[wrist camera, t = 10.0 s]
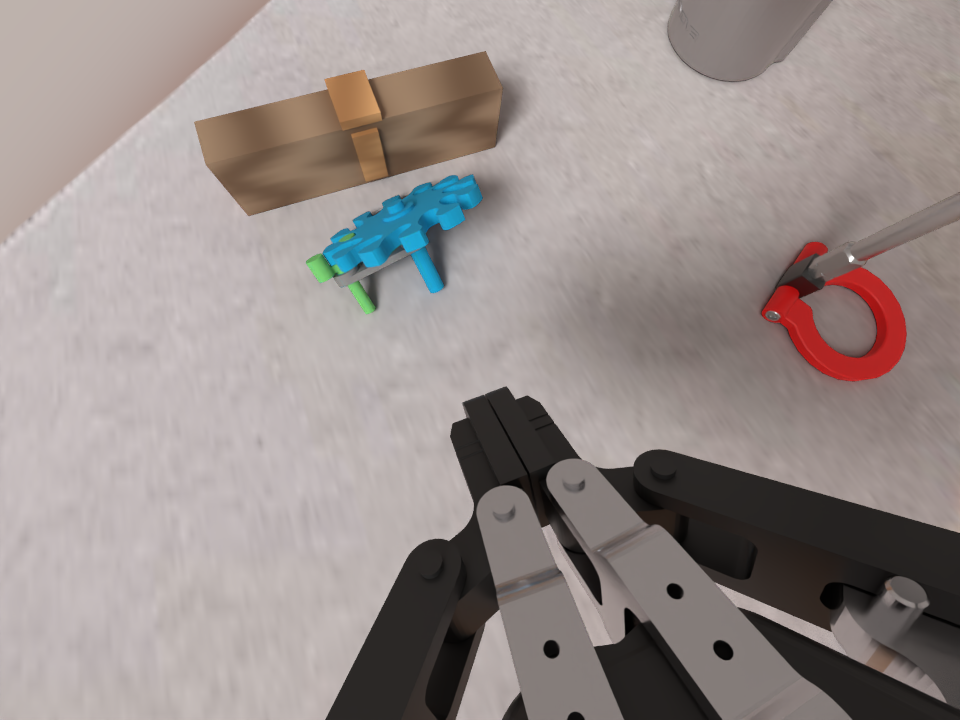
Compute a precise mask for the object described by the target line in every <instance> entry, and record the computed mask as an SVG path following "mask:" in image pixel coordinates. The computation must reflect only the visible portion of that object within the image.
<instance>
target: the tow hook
mask: <svg viewBox="0 0 960 720" xmlns="http://www.w3.org/2000/svg"><path fill="white" fill-rule="evenodd" d="M959 219H960V192H958V193H956V194H954V195H952V196H950V197H948V198H946V199H944V200H942V201H940V202H938V203H936V204H934V205H932V206H930V207H928V208H926V209H924V210H922V211H920V212H917V213H915V214H913V215H911V216H909V217H907V218H905V219H903V220H901V221H899V222H897V223H895V224H893V225H891V226H889V227H887V228H885V229H883V230H881V231H879V232H877V233H875V234H873V235H870V236H868V237H866V238H864V239H862V240H860V241H858V242H853V241H851V242H847V243H845V244H843V245H841V246H839V247H837V248H835V249H833V250H831V251H829V252H827V251H828V248H827V247H826V246H825V245H824V244H822V243H820V242H810V243H808V244H807V245H806V246H805V247H804V249H803V250H802V252H801V253H800V255H799V256H798V258H797V259H796V261H795V262H794V264H793V265H792V266H790V267H789V269H788V270H787V272H786V273H785V275H784V276H783V278H782V279H781V281H780V282H779V284H778V285H777V287H776V291H775V293H774V294H773V296H772V297H771V299H770V300H769V302H768V303H767V305H766V306H765V308H764V309H763V311H762V316H763V317H764V318H765V319H766V320H768V321H770V322H774V323H779V322H780V323H781V324H782V325H784V326H785V327H786V328H787V329H788V332H789V335H790V337H791V339H792V341H793V343H794V344H795V346H796V348H797V350H798V351H799V352H800V353H801V354H802V356H803V357H804V358H805V359H806V360H807V361H808V362H809V363H810V364H811V365H812V366H814V367H815V368H817V369H818V370H819V371H821V372H822V373H824V374H826V375H829V376H831V377H834V378H836V379H839V380H846V381H860V380H866V379H873V378H877V377H879V376H881V375H883V374H885V373H887V372H889V371H890V370H891V369H892V368H893V367H894V366H895V365H896V364H897V363H898V362H899V360H900V358H901V356H902V353H903V351H904V349H905V342H906V336H907V333H906V325H905V318H904V315H903V313H902V310H901V307H900V304H899V303H898V301H897V299H896V298H895V296H894V295H893V293H892V291H891V290H890V289H889V288H888V287H887V286H886V285H885V284H884V283H883V282H882V281H881V280H880V279H879V278H878V277H876V276H875V275H873V274H872V273H871V272H869V271H868V270H866V269H864V268H861V267H862V266H863V265H865V263H866V262H867V260H868V259H870V258H872V257H875V256H877V255H879V254H882V253H884V252H886V251H888V250H891V249H893V248H895V247H898V246H900V245H902V244H904V243H907V242H909V241H911V240H914V239H916V238H918V237H921V236H923V235H925V234H927V233H930V232H932V231H934V230H937V229H939V228H941V227H943V226H946V225H948V224H950V223H953V222H955V221H957V220H959ZM826 285H839V286H844V287H846V288H849V289H851V290H853V291H855V292H856V293H857V294H859V295H860V296H861V297H862V298H863V299H864V300H865V301H866V302H867V303H868V305H869V306H870V308H871V310H872V311H873V313H874V316H875V319H876V322H877V337H876V342H875V344H874V346H873V348H872V349H871V350H870V351H869V352H868V353H867V354H866V355H864V356H862V357H860V358H854V357H848V356H845V355H843V354H840V353H838V352H837V351H835V350H834V349H832V348H831V347H829V346H828V344H827V343H826V342H825V341H824V340H823V339H822V338H821V336H820V334H819V333H818V331H817V329H816V327H815V323H814V320H813V312H812V309H811V307H810V306H808V305H807V304H806V303H804V302H803V301H802V300H800V299H799V298H801V297H804V296H806V295H809V294H811V293H813V292H816V291H818V290H821V289H822V288H823V286H826Z"/></svg>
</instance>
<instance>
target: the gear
mask: <svg viewBox="0 0 960 720" xmlns="http://www.w3.org/2000/svg"><path fill="white" fill-rule="evenodd" d="M482 199H483V197H482V195H481V192H480V189H479V187H478V184H476V181H475V179H474V176H473V174H472V175H469V176H467V177H464V178H462V179H461V180H459V179H458V176H456V175H452V176H448V177H446V178H445V179H443V180H442V181H440V182H439V183H438V184H436V185H435V186H432V184H431V182H429V183H425V184H422V185H419V186H417V187H415V188H414V189H413V191H412V192H411V193H410V194H409V195H408V196H407V197H405V198H404V199H401V198H400V196H399V195H397V196H395V197H392V198H390V199H388V200H386V201H384V202H383V203H382V205H383V206H384V207H383V209H382V210H381V211H380V212H379V213H377V214H376V215H374V216H372V214H371V212H366V213H364V214H362V215H360V216H359V217H357V218H355V219H354V220H353V222H354V224H355V226H356V227H357V229H355V230H352V231H350V230H349V229H348V228H346V229H343V230H341V231H339V232H338V233H337V234H335V235H334V236H333V237H332V238H330V239H331V241H332V242H333V244H331V245H329V246H328V247H326V249H325V250H324V251H323V253H322V254H323V255H324V256H323V255H322V254H317V255H315V256H313V257H311V258H310V259H308V260H307V261H306V264H307V265H308V267H309V268H310V270H311V271H312V273H313V274H314V275H315V277H316V278H317V280H318V281H319V282H320V283H322V282H325V281H327V280H329V279H330V278H332V277H333V278H334V279H335V281H336V282H337V284H338V285H339V287H345V286H348V287H349V289H350V290H351V292H352V293H353V295H354V296H355V298H356V299H357V301H358V303H359V304H360V306H361V307H362V309H363V310H364V312H365V313H366V314H369V313H371V312H373V311H374V310H375V309H376V308H375V306H374V305H373V303H372V301H371V300H370V298H369V297H368V295H367V293H366V292H365V290H364V289H363V287H362V285H361V284H360V282H359V281H358V280H360V279H362V278H364V277H366V276H368V275H370V274H372V273H374V272H376V271H378V270H380V269H382V268H384V267H386V266H388V265H390V264H392V263H394V262H396V261H398V260H400V259H402V258H404V257H406V256H408V255H410V254H411V256H412V258H413V260H414V262H415V264H416V266H417V268H418V270H419V272H420V274H421V275H422V277H423V279H424V281H425V283H426V285H427V287H428V289H429V291H430V292H431V293H436V292H438V291H440V290H441V289H442V288H443V287H444V284H443V282H442V280H441V278H440V276H439V274H438V272H437V270H436V268H435V266H434V264H433V262H432V260H431V258H430V256H429V254H428V252H427V250H426V248H425V246H426V245H427V244H428V243H429V240H428V238H427V236H426V232H427V231H428V229H429V228H430V227H432V226H433V225H435V224H437V223H440V225H441V227H442V229H443V230H449V229H451V228H453V227H455V226H456V225H458V224H460V223H461V222H463V221H464V220H465V217H464V214H463V212H462V210H461V208H462V209H464V210H467V209H471V208H473V207H475V206H476V205H477V204H479V203H480V201H481V200H482ZM324 257H325V258H326V259H325V258H324ZM326 260H327V261H328V262H327V261H326ZM361 261H363V262H361ZM360 262H361V263H360ZM328 263H329V264H330V265H329V264H328Z"/></svg>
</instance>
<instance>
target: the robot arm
mask: <svg viewBox="0 0 960 720" xmlns="http://www.w3.org/2000/svg"><path fill="white" fill-rule="evenodd" d="M832 1H833V0H677V3H676V5H675V7H674V9H673V11H672V13H671V15H670V18H669V21H668V34H669V38H670V42H671V44H672V46H673V48H674V50H675V51H676V53H677V54H678V55H679V56H680V58H681V59H682V60H683V61H684V62H686V63H687V64H688V65H689V66H690V67H692V68H693V69H695V70H696V71H698V72H700V73H702V74H704V75H706V76H709V77H711V78H715V79H719V80H723V81H742V80H747V79H750V78H753V77H756V76H758V75H759V74H761V73H762V72H764V71H765V70H766V69H767V68H768V67H769V66H770V65H771V64H772V63H774V62H779V61H783V60H784V59H785V58H786V56H787V55H788V54H789V53H790V52H791V50H792V49H793V48H794V47H795V46H796V44H797V43H798V42H799V41H800V39H801V38H802V37H803V36H804V35H805V33H806V32H807V31H808V30H809V29H810V27H811V26H812V25H813V24H814V22H815V21H816V20H817V19H818V18H819V16H820V15H821V14H822V13H823V12H824V10H825V9H826V8H827V7H828V5H829V4H830V3H831V2H832ZM463 407H464V411H465V414H466V417H467V418H466V419H463V420H461V421H458V422H455V423H453V424H452V429H451V435H450V438H451V440H452V443H453V446H454V449H455V452H456V455H457V458H458V460H459V463H460V466H461V469H462V472H463V475H464V477H465V480H466V483H467V486H468V488H469V491H470V494H471V497H472V499H473V502H474V511H473V515H472V517H471V519H470V521H469V523H468V524H467V526H466V527H465V528H464V529H463V530H462V531H461V532H460V533H458V534H457V535H456V536H455V537H454V538H452V539H451V540H450V541H447V540H444V539H432V540H428V541H425V542H423V543H422V544H420V545H419V546H417V547H416V548H415V549H414V550H413V551H412V552H411V553H410V554H409V556H408V558H407V559H406V561H405V563H404V565H403V567H402V569H401V571H400V573H399V575H398V577H397V579H396V581H395V583H394V585H393V587H392V589H391V591H390V593H389V595H388V597H387V599H386V601H385V603H384V605H383V607H382V609H381V611H380V613H379V615H378V617H377V619H376V621H375V623H374V624H373V626H372V628H371V630H370V632H369V634H368V636H367V638H366V640H365V642H364V644H363V646H362V648H361V650H360V652H359V654H358V656H357V658H356V660H355V662H354V664H353V666H352V668H351V670H350V672H349V674H348V676H347V678H346V680H345V682H344V684H343V686H342V688H341V690H340V692H339V694H338V696H337V698H336V700H335V702H334V704H333V706H332V708H331V710H330V712H329V714H328V715H327V717H326V719H325V720H456V716H457V713H458V710H459V707H460V704H461V701H462V697H463V694H464V691H465V688H466V685H467V682H468V679H469V675H470V672H471V669H472V666H473V663H474V660H475V657H476V653H477V650H478V647H479V644H480V641H481V638H482V634H483V631H484V627H485V622H486V621H487V620H488V619H489V618H491V617H492V616H493V615H494V614H495V613H496V612H497V611H498V610H499V609H500V612H501V616H502V620H503V624H504V628H505V632H506V636H507V639H508V643H509V647H510V651H511V655H512V659H513V663H514V666H515V670H516V674H517V678H518V682H519V686H520V689H521V692H520V693H519V694H518V696H517V697H516V698H515V699H514V700H513V702H512V703H511V705H510V706H509V708H508V710H507V711H506V713H505V715H504V717H503V719H502V720H960V533H958V532H954V531H950V530H947V529H943V528H940V527H936V526H933V525H929V524H926V523H922V522H919V521H915V520H912V519H908V518H905V517H901V516H898V515H894V514H891V513H887V512H883V511H880V510H876V509H873V508H869V507H866V506H862V505H859V504H855V503H852V502H848V501H845V500H841V499H838V498H834V497H831V496H827V495H823V494H820V493H816V492H813V491H809V490H806V489H802V488H799V487H795V486H792V485H788V484H785V483H781V482H778V481H774V480H771V479H767V478H764V477H760V476H756V475H753V474H749V473H746V472H742V471H739V470H735V469H732V468H728V467H725V466H721V465H718V464H714V463H711V462H707V461H704V460H700V459H696V458H693V457H689V456H686V455H682V454H679V453H675V452H672V451H668V450H650V451H647V452H645V453H643V454H641V455H640V456H639V457H638V458H637V459H636V460H635V462H634V467H625V468H615V469H603V468H598V467H595V466H594V465H592V464H591V463H589V462H587V461H585V460H582V459H581V458H580V457H579V456H578V455H577V453H576V452H575V450H574V449H573V448H572V446H571V445H570V443H569V442H568V441H567V439H566V438H565V437H564V435H563V434H562V432H561V431H560V430H559V428H558V427H557V425H556V424H554V421H553V420H552V419H551V417H550V416H549V415H548V413H547V412H546V410H545V409H544V408H543V406H542V405H541V403H540V402H538V401H536V400H534V399H533V398H531V397H529V396H524V397H522V398H519V399H516V400H515V398H514V397H513V395H512V393H511V392H510V390H509V389H508V388H507V387H503V388H500V389H498V390H495V391H492V392H489V393H487V394H485V396H484V395H482V396H479V397H476V398H473V399H471V400H468V401H465V402H463ZM549 524H550V525H551V527H552V529H553V531H554V532H555V534H556V537H557V542H558V547H559V549H560V551H561V553H562V554H563V556H564V558H565V559H566V561H567V562H568V564H569V566H570V567H571V569H572V570H573V572H574V574H575V575H576V577H577V578H578V580H579V582H580V583H581V585H582V586H583V588H584V590H585V591H586V593H587V595H588V596H589V598H590V599H591V601H592V603H593V604H594V606H595V607H596V609H597V611H598V613H599V614H600V616H601V619H602V621H603V623H604V626H605V629H606V631H607V633H608V635H609V637H610V639H611V641H612V643H613V644H610V645H603V646H596V647H593V644H592V642H591V639H590V637H589V635H588V632H587V630H586V627H585V625H584V623H583V620H582V618H581V615H580V613H579V610H578V608H577V606H576V603H575V601H574V598H573V596H572V594H571V591H570V589H569V586H568V584H567V582H566V580H565V577H564V575H563V573H562V572H561V571H559V569H558V567H557V565H556V563H555V560H554V558H553V556H552V553H551V551H550V548H549V546H548V543H547V541H546V538H545V536H544V533H543V531H542V529H541V528H542V527H545V526H547V525H549ZM714 582H716V583H718V584H720V585H723V586H725V587H727V588H730V589H732V590H734V591H737V592H739V593H741V594H744V595H746V596H748V597H751V598H753V599H755V600H758V601H760V602H763V603H765V604H767V605H770V606H772V607H774V608H777V609H779V610H781V611H784V612H786V613H788V614H791V615H793V616H795V617H798V618H800V619H802V620H805V621H807V622H809V623H812V624H814V625H816V626H819V627H821V628H823V629H826V630H828V631H830V632H833V634H834V637H835V638H836V640H837V641H838V643H839V644H840V646H841V647H842V648H843V649H844V650H845V652H846V654H847V656H846V655H844V654H841V653H839V652H837V651H835V650H833V649H831V648H829V647H827V646H825V645H822V644H820V643H818V642H816V641H814V640H812V639H810V638H808V637H806V636H803V635H801V634H799V633H797V632H795V631H793V630H791V629H789V628H787V627H784V626H782V625H780V624H778V623H776V622H774V621H772V620H770V619H768V618H765V617H763V616H761V615H759V614H756V613H754V612H751V611H748V610H745V609H743V608H739V607H736V606H735V605H734V604H733V602H732V601H731V600H730V599H729V598H728V597H727V596H726V595H725V594H724V593H723V592H722V591H721V589H720V588H719V587H718V586H717V585H716V584H715V583H714Z"/></svg>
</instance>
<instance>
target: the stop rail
mask: <svg viewBox="0 0 960 720" xmlns="http://www.w3.org/2000/svg"><path fill="white" fill-rule="evenodd" d="M324 80H325V83H326V86H327V89H328V90H324V91H319V92H315V93H311V94H307V95H303V96H299V97H295V98H291V99H286V100H282V101H278V102H274V103H270V104H266V105H262V106H258V107H254V108H249V109H245V110H241V111H237V112H233V113H229V114H225V115H221V116H216V117H212V118H208V119H204V120H200V121H196V122H194V123H195V127H196V131H197V134H198V138H199V142H200V145H201V149H202V153H203V156H204V160H205V164H206V165H207V167H208V168H209V169H210V170H211V171H212V173H213V174H214V175H215V176H216V177H217V179H218V180H219V181H220V182H221V184H222V185H223V186H224V187H225V188H226V190H227V191H228V192H229V193H230V194H231V196H232V197H233V198H234V199H235V200H236V202H237V203H238V204H239V205H240V206H241V208H242V209H243V210H244V211H245V212H246V214H247V215H248V216H250V215H254V214H257V213H261V212H264V211H268V210H272V209H275V208H279V207H282V206H286V205H289V204H293V203H297V202H300V201H304V200H307V199H311V198H315V197H318V196H322V195H325V194H329V193H332V192H336V191H340V190H343V189H347V188H350V187H354V186H357V185H361V184H365V183H368V182H372V181H375V180H379V179H383V178H386V177H390V176H393V175H397V174H400V173H404V172H408V171H411V170H415V169H418V168H422V167H425V166H429V165H433V164H436V163H440V162H443V161H447V160H451V159H454V158H458V157H461V156H465V155H468V154H472V153H476V152H479V151H483V150H486V149H490V148H493V147H495V143H496V135H497V128H498V120H499V113H500V105H501V98H502V90H503V87H502V85H501V83H500V81H499V79H498V77H497V74H496V72H495V70H494V68H493V66H492V64H491V62H490V60H489V57H488V55H487V53H486V51H484V52H480V53H476V54H472V55H468V56H464V57H459V58H455V59H451V60H447V61H443V62H439V63H435V64H431V65H426V66H422V67H418V68H414V69H410V70H406V71H402V72H398V73H394V74H389V75H385V76H381V77H377V78H373V79H369V80H368V79H367V76H366V74H365V71H364V70H361V71H357V72H353V73H348V74H344V75H340V76H336V77H332V78H327V79H324Z"/></svg>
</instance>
